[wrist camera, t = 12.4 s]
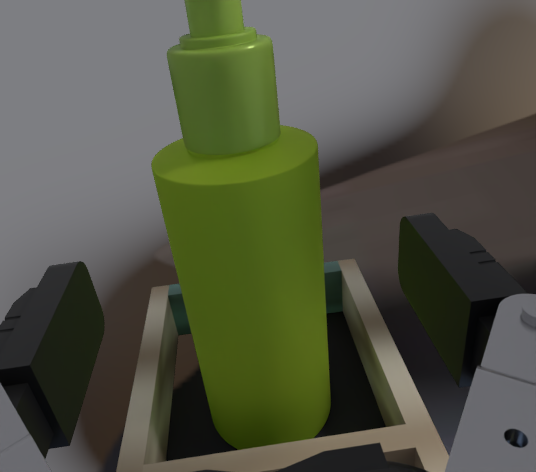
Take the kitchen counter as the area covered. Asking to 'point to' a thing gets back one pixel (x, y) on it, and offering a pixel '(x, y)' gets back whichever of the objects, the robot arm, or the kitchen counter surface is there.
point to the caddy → (285, 454)
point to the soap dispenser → (245, 234)
